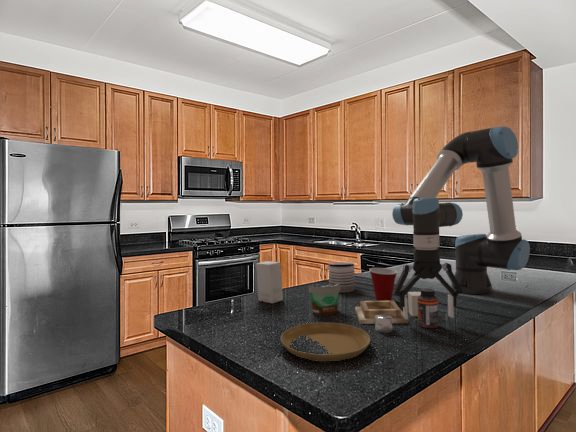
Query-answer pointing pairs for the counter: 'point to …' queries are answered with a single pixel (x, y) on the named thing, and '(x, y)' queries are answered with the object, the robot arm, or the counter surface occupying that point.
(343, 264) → the off-white ribbed cylinder
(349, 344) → the plant saucer
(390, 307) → the tray
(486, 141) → the robot arm
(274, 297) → the skincare box
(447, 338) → the counter surface
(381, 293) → the plastic cup
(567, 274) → the counter surface
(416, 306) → the off-white block
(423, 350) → the counter surface
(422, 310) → the supplement bottle
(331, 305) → the food container
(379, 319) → the small clear jar
